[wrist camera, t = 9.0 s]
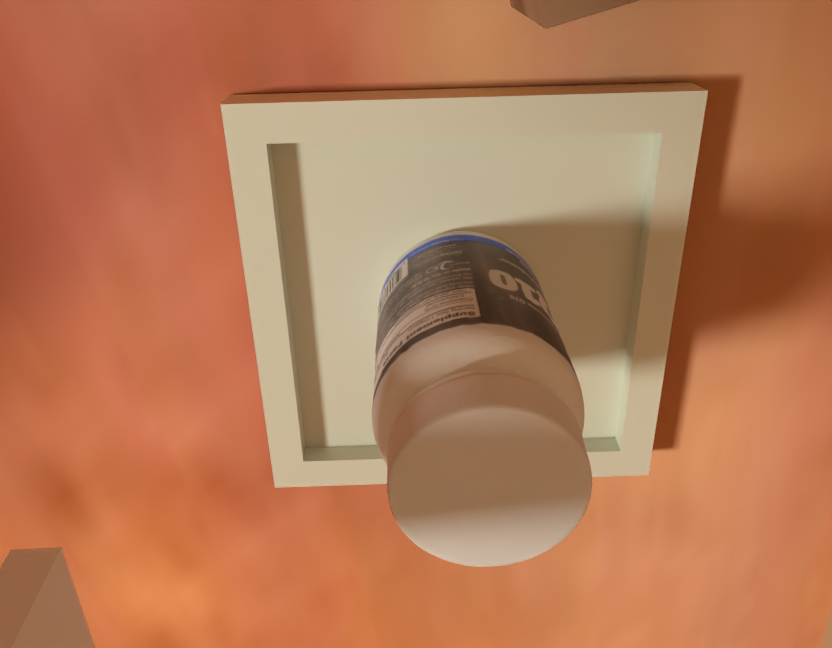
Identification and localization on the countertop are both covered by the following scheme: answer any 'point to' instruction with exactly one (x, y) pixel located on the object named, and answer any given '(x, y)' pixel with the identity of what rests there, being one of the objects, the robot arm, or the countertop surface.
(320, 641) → the countertop surface
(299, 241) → the tray
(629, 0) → the walnut cube
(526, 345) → the pill bottle
